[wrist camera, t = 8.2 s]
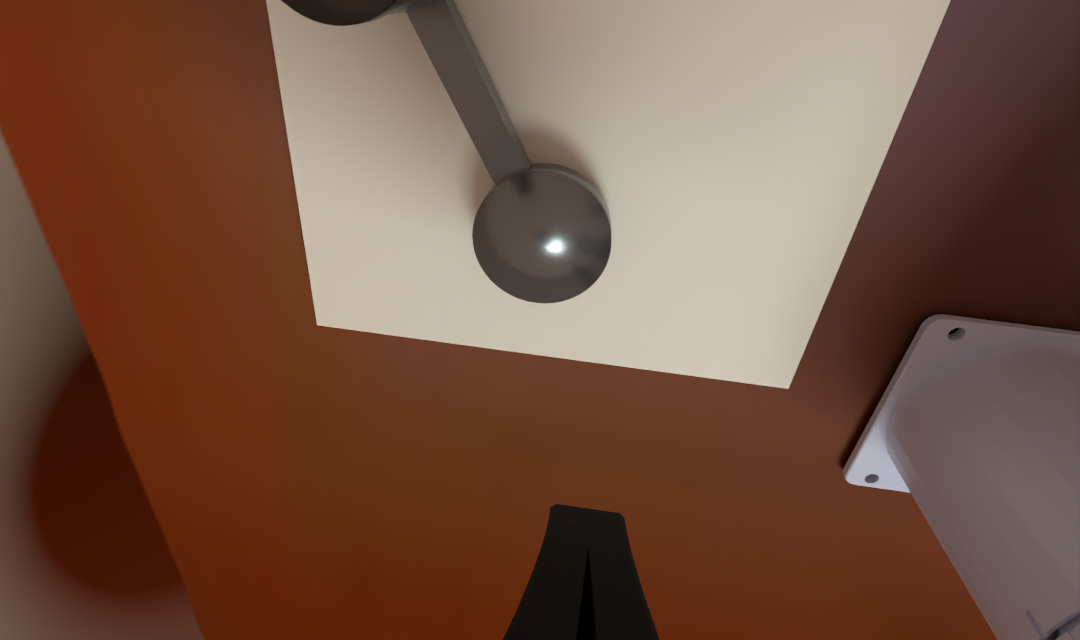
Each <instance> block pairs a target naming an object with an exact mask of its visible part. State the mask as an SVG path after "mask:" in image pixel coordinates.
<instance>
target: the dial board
mask: <svg viewBox="0 0 1080 640" xmlns="http://www.w3.org/2000/svg"><path fill="white" fill-rule="evenodd" d="M950 1H951V0H454V2H455V4H456V6H457V8H458V10H459V12H460V14H461V17H462V19H463V21H464V23H465V25H466V27H467V29H468V31H469V33H470V36H471V38H472V40H473V42H474V44H475V46H476V48H477V50H478V52H479V55H480V57H481V59H482V61H483V63H484V65H485V67H486V69H487V71H488V73H489V76H490V78H491V80H492V82H493V84H494V86H495V88H496V90H497V92H498V95H499V97H500V99H501V101H502V103H503V105H504V107H505V109H506V111H507V113H508V116H509V118H510V120H511V122H512V124H513V126H514V128H515V130H516V132H517V135H518V137H519V139H520V141H521V143H522V145H523V147H524V149H525V151H526V153H527V156H528V158H529V160H530V162H531V164H535V163H551V164H557V165H561V166H564V167H568V168H570V169H572V170H574V171H576V172H578V173H580V174H581V175H583V176H584V177H586V178H587V179H588V180H589V181H590V182H592V184H593V185H594V186H595V187H596V188H597V189H598V190H599V192H600V193H601V195H602V196H603V198H604V200H605V202H606V204H607V207H608V210H609V213H610V218H611V252H610V256H609V260H608V262H607V265H606V267H605V269H604V271H603V273H602V274H601V276H600V277H599V278H598V280H597V281H596V282H595V283H594V284H593V285H592V286H591V287H590V288H588V289H587V290H586V291H585V292H583V293H581V294H580V295H578V296H576V297H574V298H571V299H569V300H565V301H562V302H556V303H534V302H528V301H525V300H521V299H518V298H516V297H514V296H511V295H510V294H508V293H506V292H504V291H503V290H502V289H500V288H499V287H497V286H496V285H495V284H494V283H493V282H492V281H491V280H490V279H489V278H488V276H487V275H486V274H485V273H484V271H483V270H482V268H481V266H480V264H479V262H478V260H477V258H476V255H475V252H474V247H473V239H472V231H473V224H474V219H475V216H476V213H477V211H478V209H479V207H480V205H481V203H482V202H483V200H484V198H485V197H486V195H487V193H488V192H489V190H490V189H491V188H492V186H493V185H494V182H493V180H492V178H491V176H490V175H489V173H488V171H487V169H486V167H485V165H484V163H483V161H482V159H481V157H480V155H479V153H478V151H477V149H476V147H475V145H474V144H473V142H472V140H471V138H470V136H469V134H468V132H467V130H466V128H465V126H464V124H463V122H462V120H461V118H460V116H459V114H458V113H457V111H456V109H455V107H454V105H453V103H452V101H451V99H450V97H449V95H448V93H447V91H446V89H445V87H444V85H443V83H442V81H441V80H440V78H439V76H438V74H437V72H436V70H435V68H434V66H433V64H432V62H431V60H430V58H429V56H428V54H427V52H426V50H425V49H424V47H423V45H422V43H421V41H420V39H419V37H418V35H417V33H416V31H415V29H414V27H413V25H412V23H411V21H410V19H409V17H408V16H407V14H406V12H404V13H396V14H387V15H386V16H384V17H382V18H380V19H378V20H375V21H371V22H368V23H362V24H355V25H348V26H333V25H327V24H322V23H319V22H316V21H313V20H311V19H309V18H306V17H304V16H302V15H301V14H299V13H297V12H296V11H294V10H293V9H291V8H290V7H289V6H287V5H286V4H285V3H284V2H282V1H281V0H266V3H267V9H268V15H269V22H270V28H271V34H272V41H273V47H274V53H275V60H276V66H277V72H278V79H279V85H280V92H281V98H282V104H283V111H284V117H285V123H286V130H287V136H288V142H289V149H290V155H291V162H292V168H293V174H294V181H295V187H296V193H297V200H298V206H299V212H300V219H301V225H302V232H303V238H304V244H305V251H306V257H307V263H308V270H309V276H310V282H311V289H312V295H313V301H314V308H315V314H316V321H317V325H320V326H327V327H335V328H342V329H349V330H357V331H364V332H372V333H379V334H386V335H394V336H401V337H409V338H416V339H423V340H431V341H438V342H446V343H453V344H460V345H468V346H475V347H483V348H490V349H497V350H505V351H512V352H520V353H527V354H534V355H542V356H549V357H557V358H564V359H571V360H579V361H586V362H594V363H601V364H608V365H616V366H623V367H631V368H638V369H645V370H653V371H660V372H668V373H675V374H683V375H690V376H697V377H705V378H712V379H720V380H727V381H734V382H742V383H749V384H757V385H764V386H771V387H779V388H786V389H789V386H790V384H791V381H792V379H793V377H794V374H795V372H796V369H797V367H798V365H799V362H800V360H801V357H802V355H803V353H804V350H805V348H806V345H807V343H808V341H809V338H810V336H811V333H812V331H813V329H814V326H815V324H816V322H817V319H818V317H819V314H820V312H821V310H822V307H823V305H824V302H825V300H826V298H827V295H828V293H829V290H830V288H831V286H832V283H833V281H834V278H835V276H836V274H837V271H838V269H839V266H840V264H841V262H842V259H843V257H844V254H845V252H846V250H847V247H848V245H849V243H850V240H851V238H852V235H853V233H854V231H855V228H856V226H857V223H858V221H859V219H860V216H861V214H862V211H863V209H864V207H865V204H866V202H867V199H868V197H869V195H870V192H871V190H872V187H873V185H874V183H875V180H876V178H877V175H878V173H879V171H880V168H881V166H882V164H883V161H884V159H885V156H886V154H887V152H888V149H889V147H890V144H891V142H892V140H893V137H894V135H895V132H896V130H897V128H898V125H899V123H900V120H901V118H902V116H903V113H904V111H905V108H906V106H907V104H908V101H909V99H910V97H911V94H912V92H913V89H914V87H915V85H916V82H917V80H918V77H919V75H920V73H921V70H922V68H923V65H924V63H925V61H926V58H927V56H928V53H929V51H930V49H931V46H932V44H933V41H934V39H935V37H936V34H937V32H938V29H939V27H940V25H941V22H942V20H943V18H944V15H945V13H946V10H947V8H948V6H949V3H950Z"/></svg>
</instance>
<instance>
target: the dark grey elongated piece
mask: <svg viewBox="0 0 1080 640" xmlns="http://www.w3.org/2000/svg"><path fill="white" fill-rule="evenodd" d="M281 1H282V2H284V3H285V4H286V5H287V6H289V7H290V8H291V9H293V10H294V11H296V12H297V13H299V14H301V15H302V16H304V17H306V18H309V19H311V20H313V21H316V22H319V23H322V24H327V25H333V26H348V25H355V24H362V23H368V22H371V21H375V20H378V19H380V18H382V17H384V16H386V15H387V14H396V13H404V12H406V14H407V16H408V17H409V19H410V21H411V23H412V25H413V27H414V29H415V31H416V33H417V35H418V37H419V39H420V41H421V43H422V45H423V47H424V49H425V50H426V52H427V54H428V56H429V58H430V60H431V62H432V64H433V66H434V68H435V70H436V72H437V74H438V76H439V78H440V80H441V81H442V83H443V85H444V87H445V89H446V91H447V93H448V95H449V97H450V99H451V101H452V103H453V105H454V107H455V109H456V111H457V113H458V114H459V116H460V118H461V120H462V122H463V124H464V126H465V128H466V130H467V132H468V134H469V136H470V138H471V140H472V142H473V144H474V145H475V147H476V149H477V151H478V153H479V155H480V157H481V159H482V161H483V163H484V165H485V167H486V169H487V171H488V173H489V175H490V176H491V178H492V180H493V182H494V185H493V186H492V188H491V189H490V190H489V192H488V193H487V195H486V197H485V198H484V200H483V202H482V203H481V205H480V207H479V209H478V211H477V213H476V216H475V219H474V224H473V231H472V239H473V247H474V252H475V255H476V258H477V260H478V262H479V264H480V266H481V268H482V270H483V271H484V273H485V274H486V275H487V276H488V278H489V279H490V280H491V281H492V282H493V283H494V284H495V285H496V286H497V287H499V288H500V289H502V290H503V291H504V292H506V293H508V294H510V295H511V296H514V297H516V298H518V299H521V300H525V301H528V302H534V303H556V302H562V301H565V300H569V299H571V298H574V297H576V296H578V295H580V294H581V293H583V292H585V291H586V290H587V289H588V288H590V287H591V286H592V285H593V284H594V283H595V282H596V281H597V280H598V278H599V277H600V276H601V274H602V273H603V271H604V269H605V267H606V265H607V262H608V260H609V256H610V252H611V218H610V213H609V210H608V207H607V204H606V202H605V200H604V198H603V196H602V195H601V193H600V192H599V190H598V189H597V188H596V187H595V186H594V185H593V184H592V182H590V181H589V180H588V179H587V178H586V177H584V176H583V175H581V174H580V173H578V172H576V171H574V170H572V169H570V168H568V167H564V166H561V165H557V164H551V163H535V164H531V162H530V160H529V158H528V156H527V153H526V151H525V149H524V147H523V145H522V143H521V141H520V139H519V137H518V135H517V132H516V130H515V128H514V126H513V124H512V122H511V120H510V118H509V116H508V113H507V111H506V109H505V107H504V105H503V103H502V101H501V99H500V97H499V95H498V92H497V90H496V88H495V86H494V84H493V82H492V80H491V78H490V76H489V73H488V71H487V69H486V67H485V65H484V63H483V61H482V59H481V57H480V55H479V52H478V50H477V48H476V46H475V44H474V42H473V40H472V38H471V36H470V33H469V31H468V29H467V27H466V25H465V23H464V21H463V19H462V17H461V14H460V12H459V10H458V8H457V6H456V4H455V2H454V0H281Z"/></svg>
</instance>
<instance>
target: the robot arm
mask: <svg viewBox="0 0 1080 640" xmlns="http://www.w3.org/2000/svg"><path fill="white" fill-rule="evenodd" d="M955 328H959V329H958V330H957V331H956V332H955V333H953V334H948V333H949V332H950V331H951V330H953V329H955ZM870 474H872V475H870ZM843 475H844V477H845V479H846V481H847V482H849V483H850V484H854V485H861V486H868V487H875V488H882V489H889V490H896V491H903V492H910V493H911V494H912V496H913V498H914V500H915V501H916V503H917V505H918V506H919V508H920V510H921V511H922V513H923V515H924V516H925V518H926V520H927V522H928V523H929V525H930V527H931V528H932V530H933V532H934V533H935V535H936V537H937V538H938V540H939V542H940V544H941V545H942V547H943V549H944V550H945V552H946V554H947V555H948V557H949V559H950V561H951V562H952V564H953V566H954V567H955V569H956V571H957V572H958V574H959V576H960V577H961V579H962V581H963V583H964V584H965V586H966V588H967V589H968V591H969V593H970V594H971V596H972V598H973V599H974V601H975V603H976V605H977V606H978V608H979V610H980V611H981V613H982V615H983V616H984V618H985V620H986V622H987V623H988V625H989V627H990V628H991V630H992V632H993V633H994V635H995V637H996V638H997V640H1080V332H1079V331H1071V330H1063V329H1055V328H1047V327H1039V326H1031V325H1023V324H1015V323H1008V322H1000V321H992V320H984V319H976V318H968V317H960V316H952V315H944V314H938V315H934V316H931V317H929V318H927V319H926V320H925V321H924V322H923V323H922V324H921V326H920V328H919V329H918V331H917V333H916V335H915V337H914V339H913V341H912V342H911V344H910V346H909V348H908V350H907V352H906V354H905V355H904V357H903V359H902V361H901V363H900V365H899V366H898V368H897V370H896V372H895V374H894V376H893V378H892V379H891V381H890V383H889V385H888V387H887V389H886V391H885V392H884V394H883V396H882V398H881V400H880V402H879V404H878V405H877V407H876V409H875V411H874V413H873V415H872V416H871V418H870V420H869V422H868V424H867V426H866V428H865V429H864V431H863V433H862V435H861V437H860V439H859V441H858V442H857V444H856V446H855V448H854V450H853V452H852V454H851V455H850V457H849V459H848V461H847V463H846V465H845V466H844V468H843ZM867 475H869V476H867ZM503 640H659V637H658V634H657V631H656V628H655V626H654V623H653V620H652V617H651V614H650V611H649V609H648V606H647V603H646V600H645V597H644V594H643V591H642V587H641V584H640V581H639V577H638V574H637V571H636V567H635V564H634V560H633V556H632V552H631V548H630V544H629V540H628V535H627V531H626V526H625V520H624V517H623V516H622V515H621V514H620V513H614V512H608V511H601V510H594V509H587V508H580V507H573V506H566V505H559V504H556V505H554V506H552V507H551V508H550V515H549V521H548V525H547V529H546V533H545V537H544V540H543V544H542V547H541V550H540V553H539V556H538V559H537V561H536V564H535V567H534V570H533V573H532V575H531V577H530V580H529V582H528V585H527V587H526V589H525V592H524V594H523V597H522V599H521V602H520V604H519V606H518V609H517V611H516V613H515V615H514V618H513V620H512V622H511V624H510V626H509V628H508V630H507V632H506V634H505V636H504V638H503Z"/></svg>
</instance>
